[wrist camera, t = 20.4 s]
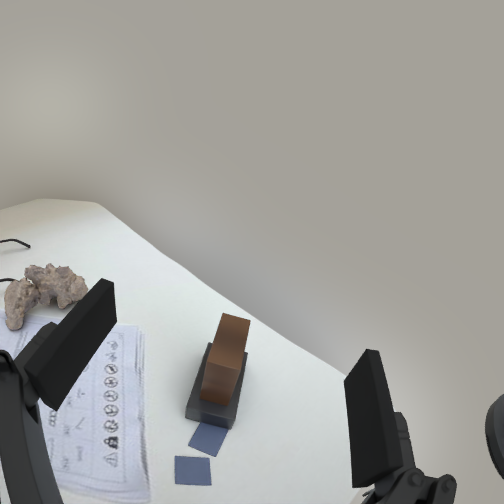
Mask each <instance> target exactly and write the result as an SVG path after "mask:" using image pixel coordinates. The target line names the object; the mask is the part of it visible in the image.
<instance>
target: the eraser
mask: <svg viewBox="0 0 504 504" xmlns="http://www.w3.org/2000/svg"><path fill="white" fill-rule="evenodd" d="M249 326H250V320H248V319H244V318H240V317H236V316H232V315H229V314H225V313H223V314H222V317H221V320H220V323H219V326H218V329H217V332H216V335H215V338H214V341H213V343H210V342H209V343H208V345H207V348H206V351H205V354H204V357H203V360H202V363H201V366H200V368H199V371H198V374H197V377H196V380H195V383H194V386H193V389H192V392H191V395H190V398H189V401H188V403H187V406H186V414H185V417H186V418H188V419H192V420H195V421H199V422H202V423H206V424H210V425H214V426H217V427H221V428H226V429H231V428H232V426H233V423H234V421H235V417H236V412H237V407H238V402H239V397H240V392H241V387H242V382H243V376H244V371H245V366H246V361H247V355H248V353H247V352H244V351H245V346H246V341H247V336H248V331H249Z"/></svg>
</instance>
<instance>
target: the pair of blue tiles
mask: <svg viewBox="0 0 504 504" xmlns="http://www.w3.org/2000/svg"><path fill="white" fill-rule="evenodd" d="M227 432H228V429H226V428H221V427H217V426H214V425H210V424H206V423H202V422H200V424H199V426H198V428H197V430H196V432H195V433H194V435H193V437H192V439H191V441H190V442H189V444H188V446H191V447H193V448H195V449H197V450H200V451H202V452H204V453H207V454H209V455H212V456H214V457H216V455H217V453H218V451H219V449H220V447H221V445H222V443H223V440H224V438H225V436H226V434H227ZM175 484H186V485H211V474H210V461H209V458H199V457H183V456H175Z"/></svg>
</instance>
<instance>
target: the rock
mask: <svg viewBox="0 0 504 504" xmlns="http://www.w3.org/2000/svg"><path fill="white" fill-rule="evenodd" d="M24 275H25V277H26V278H23V279H21V280H20V282H18V281H17V280H14V281H13V282H11V283H10V285H9V286H8V287H7V289H6V291H5V297H4V299H5V314H6V316H7V318H8V319H7V320H5V321H6V325H7V326H8V327H9V328H10V329H11V330H14V329H15V330H17V329H19V328H21V327H22V324H23V318H24V314H25V313H26V312H27V311H28V310H29V309H31V308H33V307H34V306H36V304H37V303H38V302H39V303H41V304H47V305H48V306H49V304H50V301H51V299H52V298H57V300H58V302H57V303H58V307H59V308H61V309H64V308H65V307H66V306H67V305H68V304H72V301H74V302H75V301H77V300H81V299H82V298H83V297H84V296H85V295H86V294H87V291H88V288H87V286H86V285H85V282H84V279H83V278H82V276H77V275H76V274H74V273H73V272H72V270H70V268H69V267H68V266H67V267H60V266H59V267H58V268H55V267H54V266H53V265H51V264H48V265H46V268H45V269H44V268H41V267H37V266H35V265H30V267H29V268H25V274H24ZM27 278H28V279H30V280H32V283H34V284H31V283H30V281H27Z"/></svg>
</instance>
